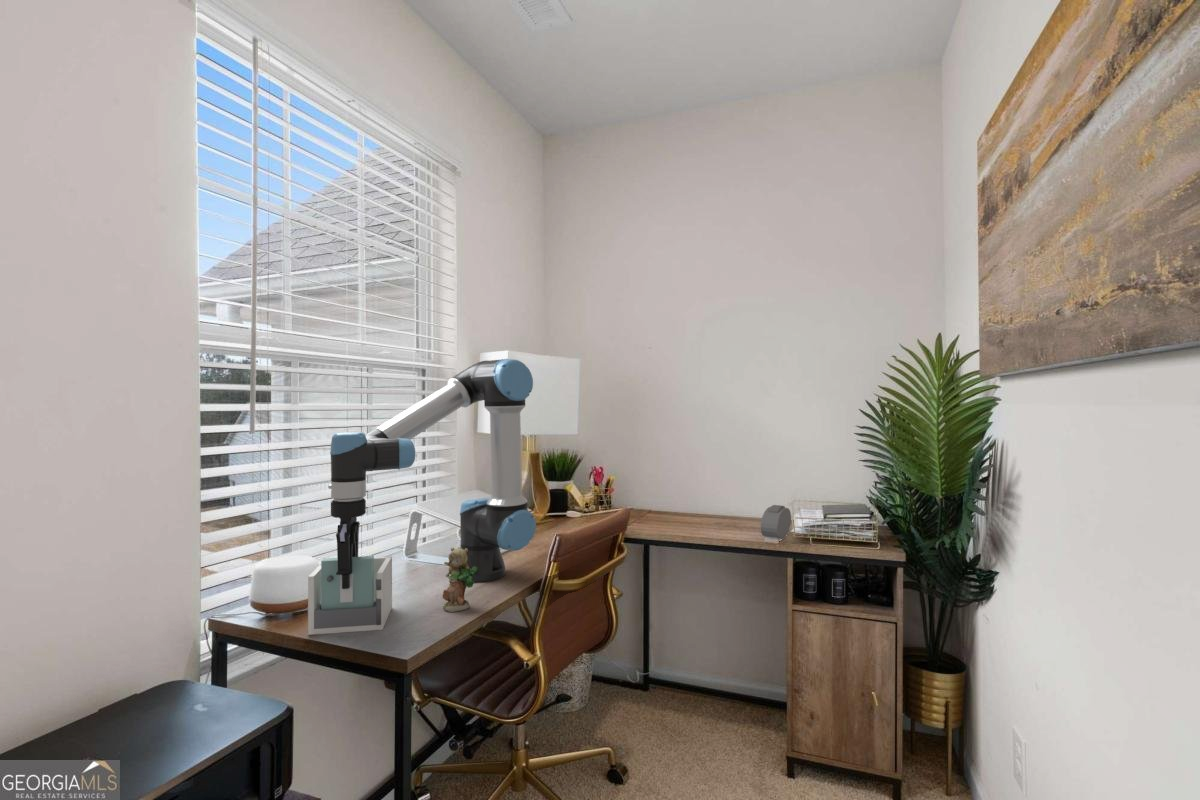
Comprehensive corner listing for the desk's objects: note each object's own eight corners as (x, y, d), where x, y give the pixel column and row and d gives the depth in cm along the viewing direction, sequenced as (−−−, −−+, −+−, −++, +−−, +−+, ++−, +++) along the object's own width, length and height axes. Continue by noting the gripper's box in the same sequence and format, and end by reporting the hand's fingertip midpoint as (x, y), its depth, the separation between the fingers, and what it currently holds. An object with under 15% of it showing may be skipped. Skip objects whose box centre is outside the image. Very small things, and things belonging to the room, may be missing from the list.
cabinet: (391, 607, 152) (392, 556, 152) (382, 630, 137) (382, 573, 137) (324, 612, 149) (324, 559, 149) (307, 635, 134) (307, 576, 134)
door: (373, 606, 141) (373, 556, 141) (371, 611, 138) (371, 559, 137) (324, 609, 139) (324, 558, 139) (320, 615, 135) (320, 562, 135)
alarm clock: (775, 532, 239) (775, 500, 239) (791, 534, 236) (791, 501, 236) (760, 544, 219) (760, 509, 219) (777, 546, 216) (777, 511, 216)
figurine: (435, 609, 151) (435, 550, 151) (456, 600, 158) (456, 544, 158) (463, 615, 147) (463, 555, 146) (483, 606, 153) (483, 548, 153)
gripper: (339, 493, 146) (339, 589, 146) (322, 505, 130) (322, 612, 130) (371, 492, 147) (371, 587, 147) (358, 503, 132) (358, 610, 132)
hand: (348, 599), depth 139 cm, fingers closed on door, 2 cm apart
